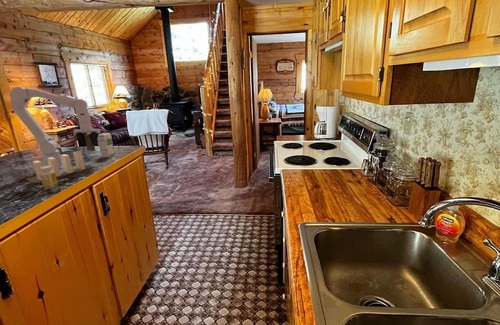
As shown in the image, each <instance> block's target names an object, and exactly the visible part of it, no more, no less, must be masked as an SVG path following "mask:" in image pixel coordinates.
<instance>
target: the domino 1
mask: <svg viewBox="0 0 500 325" xmlns="http://www.w3.org/2000/svg"><path fill="white" fill-rule="evenodd" d="M31 163H32V166H33V168H34V171H35V176H37V179H38V180H41V177H40V173H41V172H42V171H41V170H40V168H41V167H43V166H44V164H43V161H40V160H37V159H36V160H33V161H32V162H31Z"/></svg>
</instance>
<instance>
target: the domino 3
mask: <svg viewBox="0 0 500 325" xmlns="http://www.w3.org/2000/svg"><path fill="white" fill-rule="evenodd" d="M60 157H61V160H62V164H63V169H64V171H65V172H67V173H69V174H73V173H74V172H73V168H72V166H73V165H72V161H71V158H70V155H69V154H65V153H64V154H60ZM72 172H73V173H72Z"/></svg>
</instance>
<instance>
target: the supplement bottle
mask: <svg viewBox="0 0 500 325" xmlns="http://www.w3.org/2000/svg"><path fill="white" fill-rule="evenodd" d="M51 169H52V167H51V166H44V165H43V167H41V168H40V170H41V171H42V172H41V173H40V177H41V184H42V188H43V189H46V190H48V189H53V188H56V187H57V186H59V182H58V180H57V177H56V175H55V172H54V171H53V170H51Z"/></svg>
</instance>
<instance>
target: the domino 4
mask: <svg viewBox="0 0 500 325" xmlns="http://www.w3.org/2000/svg"><path fill="white" fill-rule="evenodd" d="M72 155H73V158H74V159H73V160H74V162H75V166H76V167H77V169H81V170H80V171H83V170H82V169H84V170H86V169H85V165H84V163H85V161H84V157H83V152H81V151H73V152H72Z"/></svg>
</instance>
